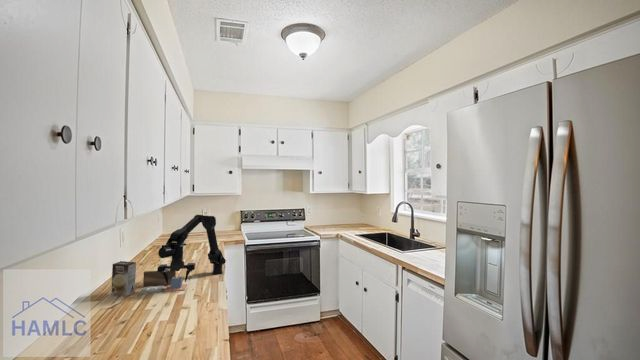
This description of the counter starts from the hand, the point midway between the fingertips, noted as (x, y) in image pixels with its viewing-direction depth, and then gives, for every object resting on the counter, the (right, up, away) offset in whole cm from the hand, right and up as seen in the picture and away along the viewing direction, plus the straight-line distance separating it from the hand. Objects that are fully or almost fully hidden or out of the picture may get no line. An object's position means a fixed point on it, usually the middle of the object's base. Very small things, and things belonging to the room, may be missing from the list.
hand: (176, 282), depth 169 cm
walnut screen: (-12, -3, +5) cm, 13 cm away
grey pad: (-12, -3, -4) cm, 12 cm away
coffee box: (-23, -2, -10) cm, 25 cm away
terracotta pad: (0, -3, 0) cm, 3 cm away
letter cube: (0, -2, 0) cm, 2 cm away
